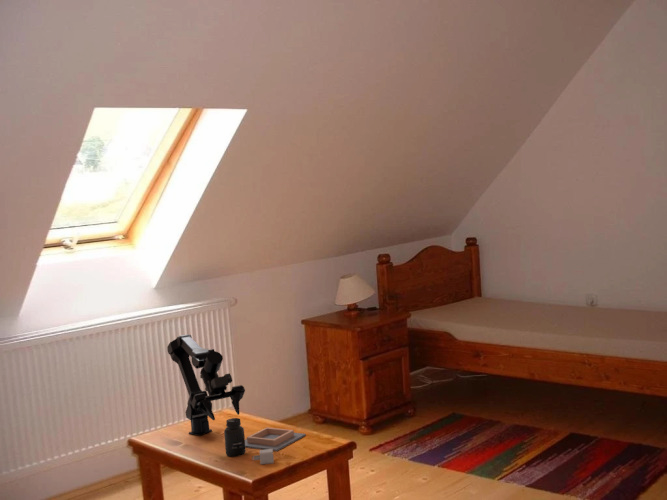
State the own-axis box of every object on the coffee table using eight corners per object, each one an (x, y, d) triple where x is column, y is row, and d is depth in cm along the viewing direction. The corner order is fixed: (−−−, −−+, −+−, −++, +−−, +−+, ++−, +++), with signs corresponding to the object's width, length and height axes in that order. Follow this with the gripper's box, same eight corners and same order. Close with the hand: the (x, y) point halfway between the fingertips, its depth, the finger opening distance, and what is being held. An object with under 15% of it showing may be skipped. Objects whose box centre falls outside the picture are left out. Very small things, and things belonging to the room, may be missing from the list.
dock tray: (235, 446, 283) (234, 439, 282) (265, 431, 298) (265, 424, 298) (276, 451, 273) (276, 443, 273) (305, 435, 288) (305, 428, 288)
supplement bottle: (237, 458, 269) (234, 423, 268) (222, 456, 273) (218, 421, 272) (250, 451, 275) (246, 417, 274) (234, 449, 279) (231, 416, 278)
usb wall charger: (273, 463, 261) (272, 451, 260) (252, 466, 260) (251, 454, 260) (273, 459, 265) (272, 448, 264) (252, 462, 264) (251, 450, 264)
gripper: (191, 372, 277) (205, 409, 268) (240, 362, 286) (256, 398, 277) (185, 390, 284) (199, 427, 275) (233, 380, 293) (249, 416, 284)
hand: (226, 416), depth 278 cm, fingers open, 9 cm apart
